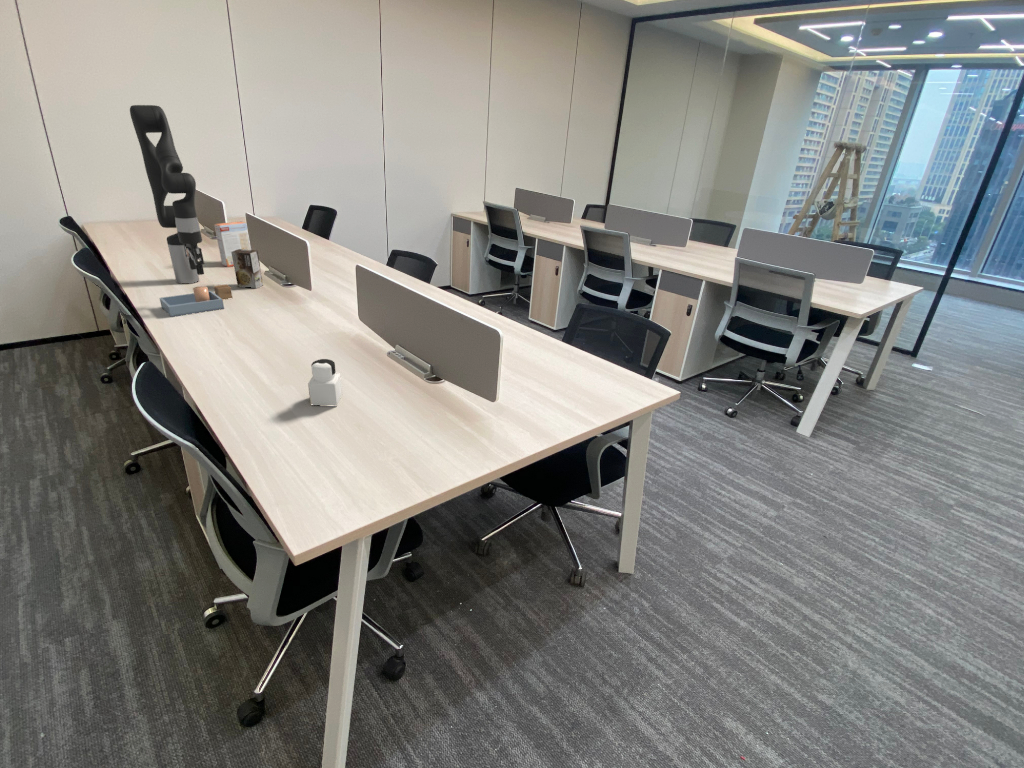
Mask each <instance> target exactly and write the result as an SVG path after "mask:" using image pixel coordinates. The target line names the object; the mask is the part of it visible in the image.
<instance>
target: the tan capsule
mask: <svg viewBox="0 0 1024 768" xmlns="http://www.w3.org/2000/svg"><path fill="white" fill-rule="evenodd" d="M208 288H209V287H207V286H202V285H201V286H194V287H192V291H193V293H194V295H195V300H196V302H203V301H209V300H210V297H209V293H208V291H209V289H208Z"/></svg>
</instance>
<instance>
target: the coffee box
mask: <svg viewBox="0 0 1024 768" xmlns="http://www.w3.org/2000/svg"><path fill="white" fill-rule="evenodd" d="M231 253H232V258H233V264H234V266H233V269H234V273H235V279H236V283H237V287H238V286H241V287H240V288H245V287H251V288H250V289H258V288H260V287H263V286H264V283H263V276H262V269H261V264H260V256H259V251H258V250H257V249H256V250H253V249H251V250H245V249H238V250H235V251H233V252H231ZM262 285H263V286H262ZM257 287H258V288H257Z"/></svg>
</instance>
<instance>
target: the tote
mask: <svg viewBox="0 0 1024 768" xmlns="http://www.w3.org/2000/svg"><path fill="white" fill-rule="evenodd" d="M208 293H209V297H210V300H209V301H203V302H196V300H195V295H194V292H193V293H187V294H178V295H172V296H171V295H170V296H164V297H159V303H160V306H161V309H162V310H163V311H165V313H167V314H168V315H169V317H171V318H174V317H175V316H176V317H180V316H181V315H182V316H187V315H186V314H188V315H193V314H192V313H195V314H198V313H199V312H201V313H206V312H205V311H207V312H211V311H212V312H213V310H214V311H219V309H220V310H224V309H225V306H224V300H222V299H221V298H220V297H219V296H217V295H216V294H215V292H213V291H212V290H208ZM199 314H200V313H199Z"/></svg>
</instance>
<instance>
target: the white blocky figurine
mask: <svg viewBox="0 0 1024 768" xmlns="http://www.w3.org/2000/svg"><path fill="white" fill-rule="evenodd" d="M311 374H312V375H311V376H312V377H311V378H310V380H309V381H308V383H307V386H308V391H309V392H308V393H309V394H308V395H309V400H310V401H309V403H310V405H311V404H313V405H337V404H338V405H339V403H340V401H339V400H341V399H340V398H342V397H341V395H342V396H343V388H342V387H343V386H342V379H341V377H342V376H341V373H340V372H336V364H335V361H334V360H331V359H328V358H319V359H316V360H314V361H313V362H312V363H311ZM338 402H339V403H338ZM338 405H337V406H338Z"/></svg>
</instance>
